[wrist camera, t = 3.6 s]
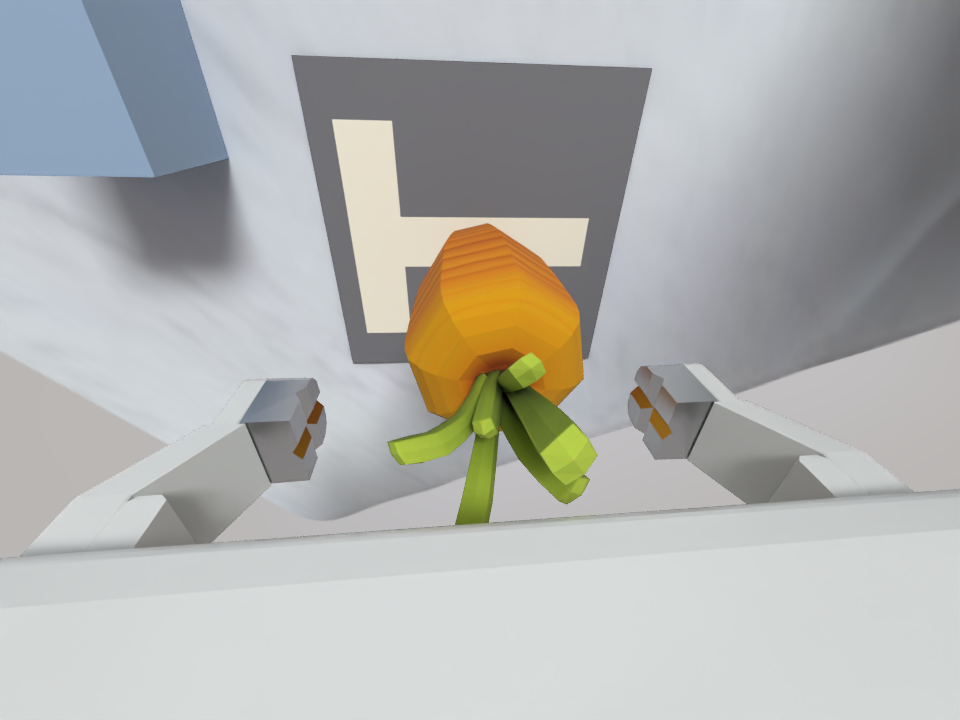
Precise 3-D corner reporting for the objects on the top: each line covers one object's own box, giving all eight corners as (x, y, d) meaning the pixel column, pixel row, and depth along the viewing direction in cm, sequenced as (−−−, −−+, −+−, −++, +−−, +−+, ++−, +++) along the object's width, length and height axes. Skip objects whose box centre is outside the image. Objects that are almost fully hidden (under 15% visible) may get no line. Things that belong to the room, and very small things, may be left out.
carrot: (463, 307, 20) (486, 618, 8) (402, 231, 18) (302, 512, 6) (543, 254, 19) (716, 531, 7) (488, 164, 17) (606, 341, 4)
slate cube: (180, -3, 13) (61, -49, 9) (229, 158, 16) (154, 177, 12) (26, -10, 13) (-171, -62, 9) (104, 155, 16) (-18, 174, 12)
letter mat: (650, 68, 15) (652, 68, 15) (587, 356, 23) (588, 358, 23) (292, 55, 14) (291, 55, 14) (353, 361, 22) (353, 363, 22)
